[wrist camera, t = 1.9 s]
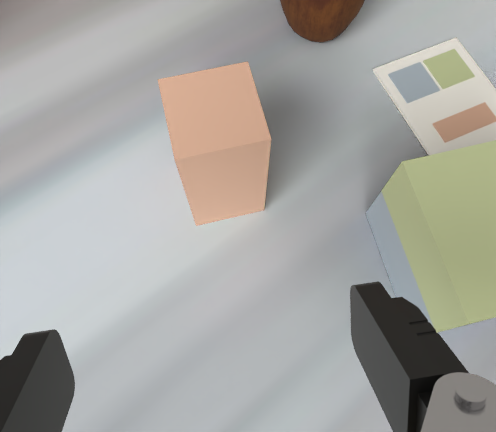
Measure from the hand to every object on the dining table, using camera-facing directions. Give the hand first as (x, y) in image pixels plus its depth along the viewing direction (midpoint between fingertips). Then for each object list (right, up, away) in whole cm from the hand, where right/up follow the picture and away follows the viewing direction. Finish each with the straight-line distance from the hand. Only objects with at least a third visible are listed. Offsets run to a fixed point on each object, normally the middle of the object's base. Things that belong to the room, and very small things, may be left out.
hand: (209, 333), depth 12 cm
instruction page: (+17, +12, +23) cm, 31 cm away
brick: (-1, +5, +20) cm, 21 cm away
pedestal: (+15, 0, +19) cm, 24 cm away
